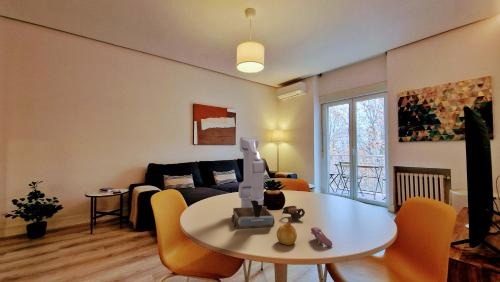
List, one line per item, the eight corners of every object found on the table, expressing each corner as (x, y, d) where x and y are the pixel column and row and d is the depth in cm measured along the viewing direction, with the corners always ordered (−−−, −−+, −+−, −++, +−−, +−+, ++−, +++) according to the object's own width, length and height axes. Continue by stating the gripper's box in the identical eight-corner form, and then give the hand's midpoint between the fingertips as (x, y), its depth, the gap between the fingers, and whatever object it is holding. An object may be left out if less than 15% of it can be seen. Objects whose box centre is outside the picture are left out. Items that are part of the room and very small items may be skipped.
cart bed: (267, 217, 126) (267, 206, 126) (275, 226, 112) (275, 213, 113) (231, 219, 123) (231, 208, 123) (234, 228, 109) (234, 215, 109)
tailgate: (271, 222, 112) (273, 215, 108) (272, 225, 110) (274, 218, 107) (239, 224, 109) (240, 217, 105) (239, 227, 107) (240, 220, 104)
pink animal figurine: (314, 241, 99) (307, 226, 98) (323, 236, 99) (316, 221, 99) (324, 251, 89) (316, 235, 89) (334, 246, 89) (326, 229, 89)
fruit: (301, 242, 88) (296, 220, 92) (280, 244, 87) (276, 222, 91) (296, 245, 95) (292, 225, 99) (277, 248, 94) (274, 227, 98)
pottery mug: (282, 223, 119) (279, 207, 123) (286, 226, 127) (283, 210, 131) (306, 218, 116) (302, 202, 121) (308, 222, 124) (304, 206, 129)
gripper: (246, 184, 114) (245, 212, 113) (251, 190, 99) (251, 222, 99) (260, 184, 115) (260, 211, 115) (267, 189, 101) (267, 221, 100)
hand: (257, 216), depth 107 cm, fingers closed, pressing on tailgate
